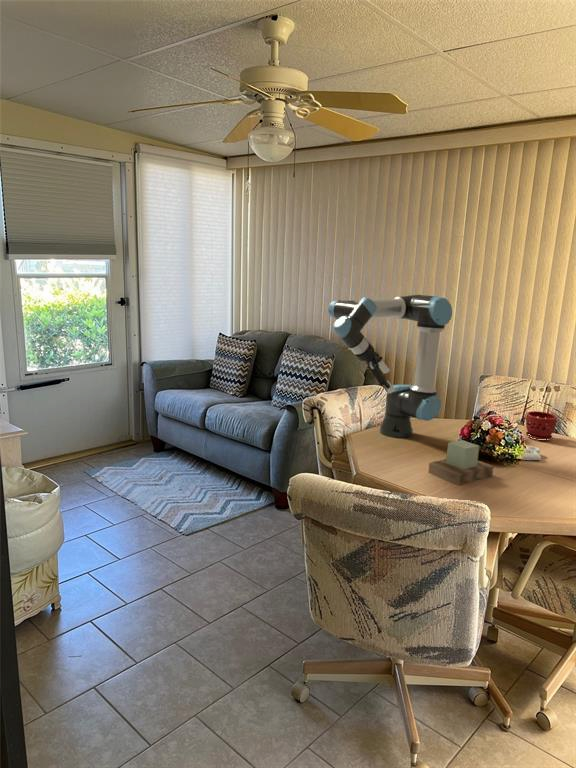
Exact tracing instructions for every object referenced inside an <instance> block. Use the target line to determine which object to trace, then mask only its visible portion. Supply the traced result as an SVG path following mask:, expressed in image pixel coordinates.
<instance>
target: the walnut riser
mask: <svg viewBox="0 0 576 768" xmlns="http://www.w3.org/2000/svg"><path fill="white" fill-rule="evenodd" d="M428 465H429V466H428V473H429V474H431V475H432V476H435V477H438V478H440V479H442V480H445V481H448V482H450V483H451V484H454V485H457V486H461V485H464V484H467V483H471V482H474V481H478V480H482V479H486V478H489V477H493V472H494V465H491V464H489V463H486V462H483V461H480V460H477V466H475V467H471V468H467V469H461V468H458V467H456V466H453V465H450V464H448V463H446V458H445V459H444V458H443V459H441V460H436V461H433V462H429V464H428Z"/></svg>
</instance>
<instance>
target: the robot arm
mask: <svg viewBox="0 0 576 768" xmlns="http://www.w3.org/2000/svg"><path fill="white" fill-rule="evenodd" d="M328 314H329V316H330V317H331V318H333V319H336V320H335V322H334V323H333V326H332V329H333V331H334V333H335V334H336V335H337V336H338V338H339V339H341V341H342V342H343V343H344V344H345V345H346V346H347V347H348V350H349V351H351V352H352V353H353V354H354V355H355V357H356V358H357V359H358V360H359V361H361V362H366V364H367V368H368V369H369V371H370V372H371V374H372V375H373V376H374V378H376V380H377V382H378V383H379V384H378V385H379V386H380V387H384V389H386V391H387V392H386V396H385V397H386V398H385V412H384V413H385V414H384V418H383V419H382V422H381V425H380V426H379V433H380V434H382V435H383V436H387V437H391V438H392V437H393V438H410V437H412V436H413V427H412V421H411V417H412V418H415V419H417V420H419V421H424V422H425V421H426V422H428V421H432V420H433V419H435V418H436V416H437V415H438V414H439V412H440V410H441V406H442V404H441V403H442V402H441V400H440V398H439V396H437V392H438V391H437V389H436V388H435V381H436V380H435V379H436V378H435V377H436V371H437V370H436V369H437V361H438V353H439V345H440V339H441V338H440V337H441V333H442V331H444V330H445V327H446V325H448V324H449V323H450V321H451V320H452V318H453V317H452V316H453V307H452V304H451V303H450V301H449V300H448V299H447V298H445V297H443V296H437V295H424V294H411V295H403V296H395V297H394V298H393V299H392V298H390V299H389V298H388V299H387V298H386V299H371V298H369V297H365V296H363V297H362V298H361V299H359V300H358V299H357V300H341V299H337V300H335V299H334V300H331V302H330V303H329V305H328ZM390 317H392V318H395V319H397V320H398V319H402V320H403V319H404V320H409V321H413V322H416V327H417V329H418V330H419V337H418V345H417V353H416V354H417V355H416V363H415V364H416V365H415V370H414V378H413V379H414V380H413V385H412V384H391V382H390V381H389V380H388V379H387V378H386V376H385V375H386V374H387V373H389V372H391V369H390V368H389V366H388V365H387V364H386V363H385V361H384V360H383V356H380V354H379V353H378V352H376V351H375V348H374V346H373V345H372V343H370V342H369V340H368V339H367V337H365V336H364V334H363V333H362V332H361V331H362V330H363V328H364V327H365V326H366V325H367V323H368V322H369V320H371V319H372V318H390Z"/></svg>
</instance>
